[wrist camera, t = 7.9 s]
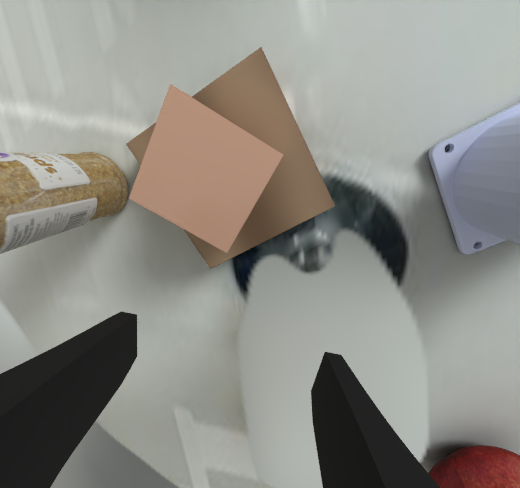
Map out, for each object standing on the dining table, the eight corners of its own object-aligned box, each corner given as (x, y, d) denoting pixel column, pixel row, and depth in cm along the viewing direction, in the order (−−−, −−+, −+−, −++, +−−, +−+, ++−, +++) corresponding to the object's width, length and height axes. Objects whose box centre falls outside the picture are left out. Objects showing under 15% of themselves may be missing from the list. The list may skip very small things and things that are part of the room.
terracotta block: (209, 109, 13) (170, 83, 8) (282, 154, 14) (283, 154, 9) (177, 184, 15) (128, 198, 10) (243, 222, 15) (227, 253, 10)
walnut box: (264, 67, 15) (261, 47, 12) (325, 197, 17) (334, 205, 14) (151, 145, 17) (126, 144, 14) (220, 252, 19) (210, 268, 16)
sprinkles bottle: (114, 144, 16) (-422, 107, 4) (140, 208, 18) (-188, 333, 5) (57, 161, 17) (-549, 177, 5) (88, 222, 19) (-312, 360, 6)
